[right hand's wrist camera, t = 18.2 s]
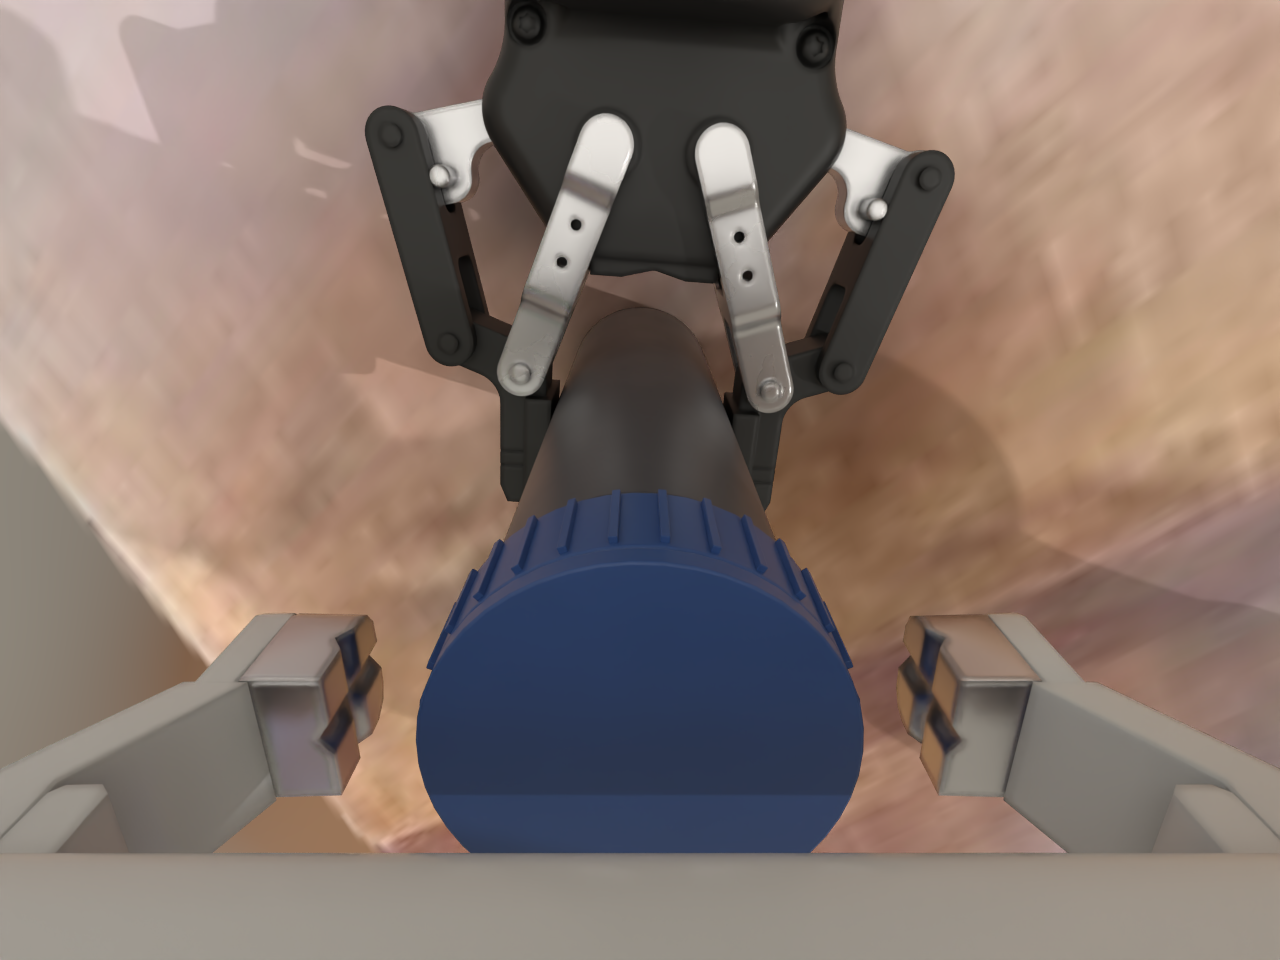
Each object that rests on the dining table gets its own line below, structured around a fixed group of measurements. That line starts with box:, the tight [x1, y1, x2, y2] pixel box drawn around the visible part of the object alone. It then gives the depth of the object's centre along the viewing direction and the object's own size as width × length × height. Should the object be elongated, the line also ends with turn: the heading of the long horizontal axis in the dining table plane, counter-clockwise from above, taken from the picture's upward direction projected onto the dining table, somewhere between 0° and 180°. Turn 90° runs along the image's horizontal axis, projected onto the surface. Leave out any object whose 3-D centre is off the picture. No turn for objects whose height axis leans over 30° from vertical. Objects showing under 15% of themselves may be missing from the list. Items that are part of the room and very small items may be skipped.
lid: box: [416, 489, 864, 853], centre depth 9 cm, size 5×5×2 cm
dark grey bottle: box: [504, 307, 776, 542], centre depth 18 cm, size 5×5×18 cm
